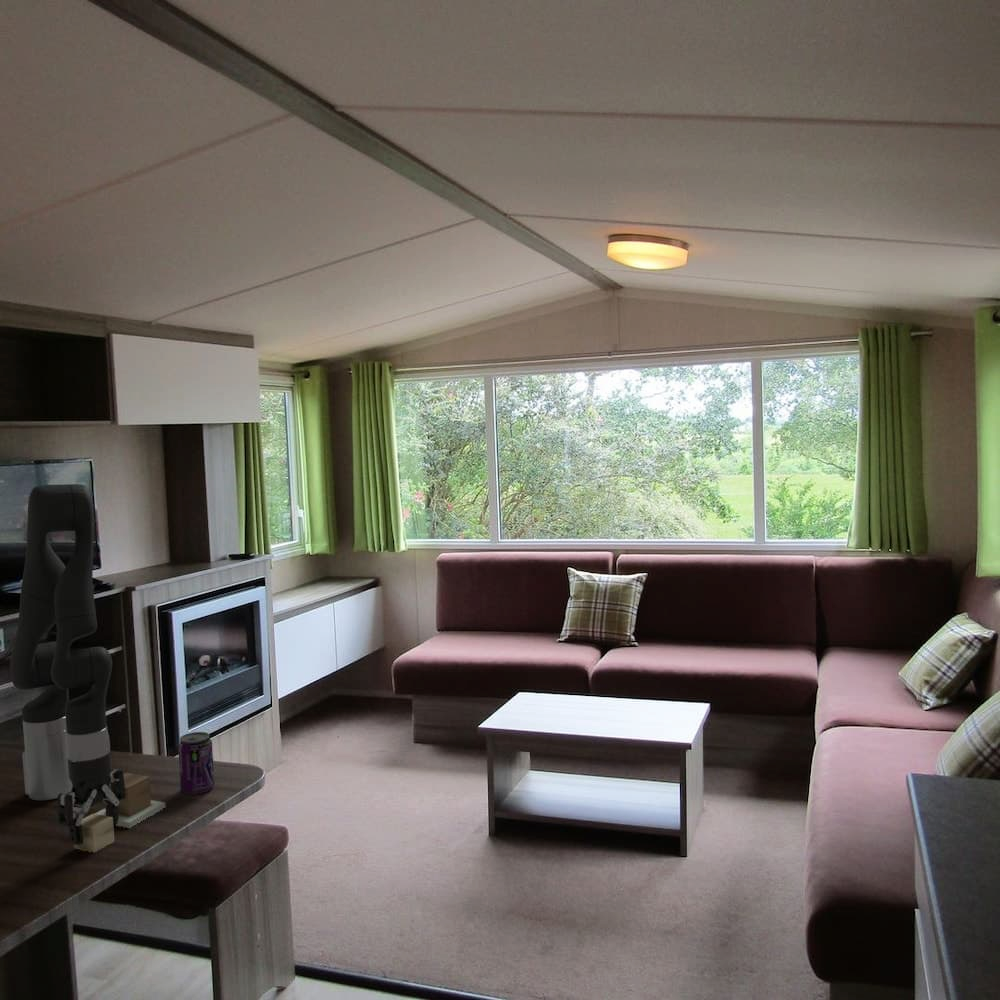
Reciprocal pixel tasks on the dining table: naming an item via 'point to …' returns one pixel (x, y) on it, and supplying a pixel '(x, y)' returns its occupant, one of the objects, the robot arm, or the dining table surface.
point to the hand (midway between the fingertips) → (95, 834)
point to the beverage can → (196, 763)
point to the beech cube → (96, 832)
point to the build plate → (137, 814)
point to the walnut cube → (134, 794)
